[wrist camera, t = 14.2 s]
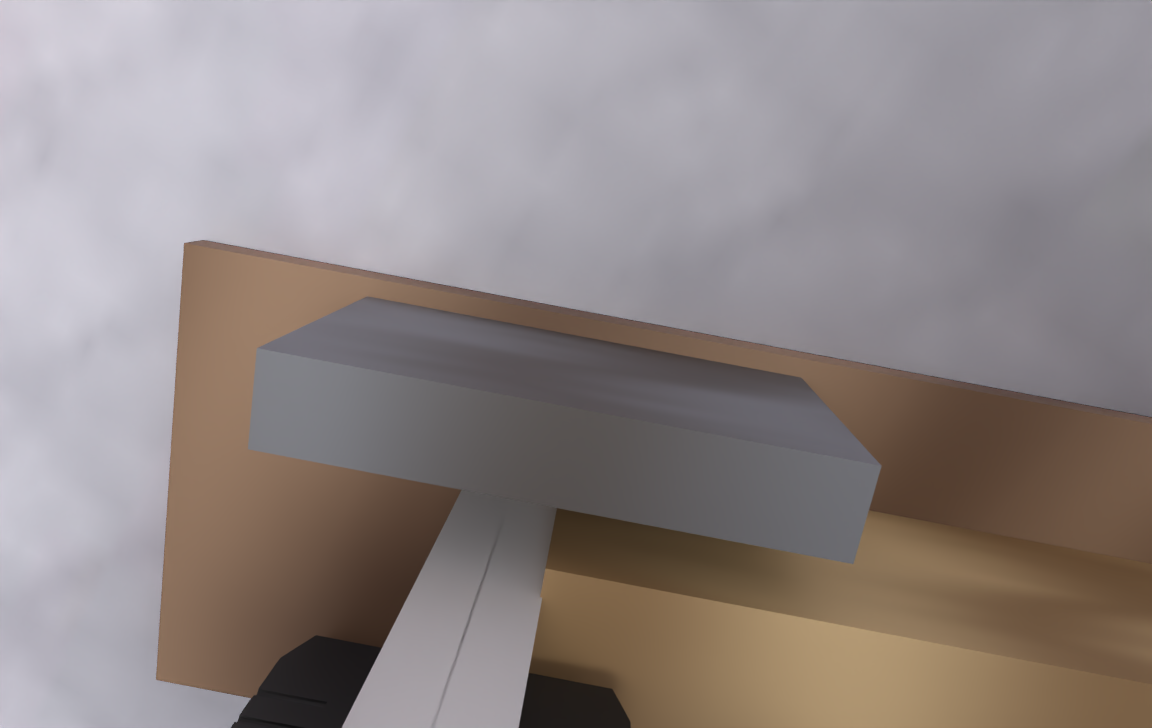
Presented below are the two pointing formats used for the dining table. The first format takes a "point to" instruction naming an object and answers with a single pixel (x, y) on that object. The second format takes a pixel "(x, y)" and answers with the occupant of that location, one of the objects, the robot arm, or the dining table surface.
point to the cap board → (554, 448)
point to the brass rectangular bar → (847, 629)
